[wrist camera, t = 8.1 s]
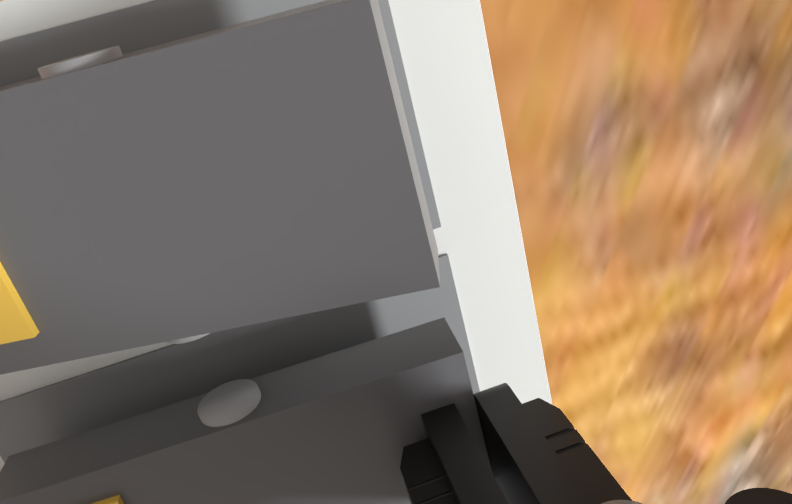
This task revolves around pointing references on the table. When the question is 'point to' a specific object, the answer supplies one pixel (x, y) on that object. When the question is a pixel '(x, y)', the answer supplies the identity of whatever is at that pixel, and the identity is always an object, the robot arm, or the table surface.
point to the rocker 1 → (207, 186)
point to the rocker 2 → (266, 434)
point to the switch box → (334, 328)
